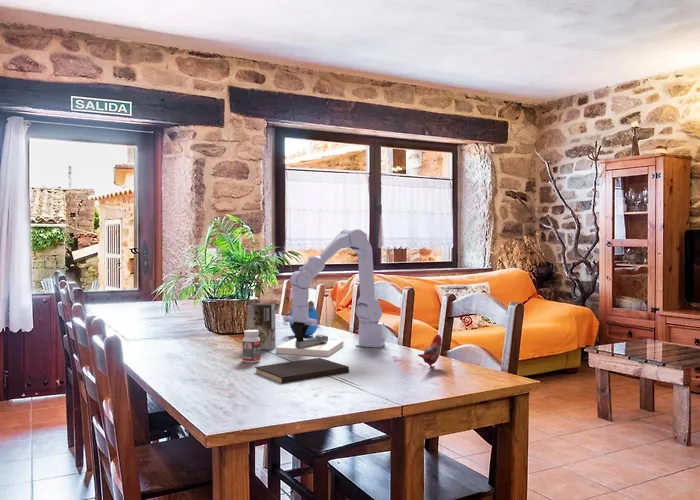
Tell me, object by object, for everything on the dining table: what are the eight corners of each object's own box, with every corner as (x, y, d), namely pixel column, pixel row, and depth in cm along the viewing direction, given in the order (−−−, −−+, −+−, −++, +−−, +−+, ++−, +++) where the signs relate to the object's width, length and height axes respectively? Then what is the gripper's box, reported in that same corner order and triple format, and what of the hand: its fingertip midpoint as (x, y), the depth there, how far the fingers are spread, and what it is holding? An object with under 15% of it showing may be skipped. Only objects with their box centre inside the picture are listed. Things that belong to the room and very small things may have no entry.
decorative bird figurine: (444, 365, 184) (445, 333, 184) (422, 376, 169) (422, 342, 169) (436, 364, 186) (436, 333, 186) (413, 375, 171) (413, 341, 170)
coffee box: (276, 346, 214) (276, 302, 214) (271, 349, 208) (272, 304, 207) (251, 345, 215) (251, 302, 214) (246, 349, 208) (247, 304, 208)
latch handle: (321, 340, 213) (322, 334, 213) (329, 342, 211) (329, 335, 211) (293, 346, 201) (293, 339, 201) (301, 348, 199) (301, 341, 199)
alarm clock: (318, 337, 233) (319, 300, 233) (305, 339, 230) (306, 301, 229) (300, 333, 244) (300, 297, 243) (288, 334, 240) (288, 298, 240)
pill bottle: (256, 363, 185) (256, 332, 185) (239, 362, 186) (239, 331, 186) (262, 359, 191) (262, 329, 190) (246, 359, 192) (246, 329, 192)
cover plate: (343, 346, 215) (343, 340, 215) (328, 356, 197) (328, 350, 197) (294, 343, 220) (294, 337, 220) (275, 353, 202) (275, 347, 202)
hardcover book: (254, 374, 173) (254, 366, 173) (319, 364, 187) (319, 357, 187) (281, 385, 160) (281, 377, 160) (349, 374, 174) (349, 366, 174)
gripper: (277, 304, 205) (277, 343, 205) (307, 308, 196) (306, 348, 196) (291, 303, 210) (291, 340, 211) (321, 306, 201) (321, 345, 201)
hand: (300, 344), depth 204 cm, fingers closed
